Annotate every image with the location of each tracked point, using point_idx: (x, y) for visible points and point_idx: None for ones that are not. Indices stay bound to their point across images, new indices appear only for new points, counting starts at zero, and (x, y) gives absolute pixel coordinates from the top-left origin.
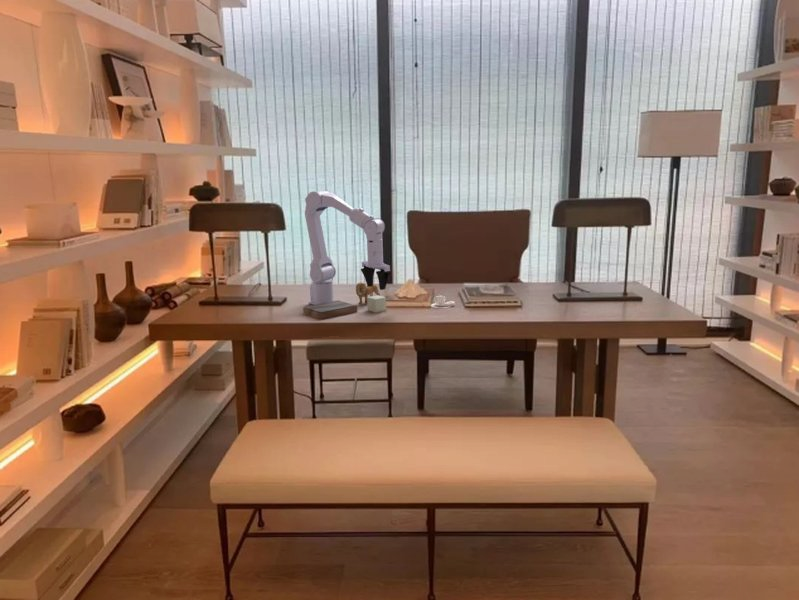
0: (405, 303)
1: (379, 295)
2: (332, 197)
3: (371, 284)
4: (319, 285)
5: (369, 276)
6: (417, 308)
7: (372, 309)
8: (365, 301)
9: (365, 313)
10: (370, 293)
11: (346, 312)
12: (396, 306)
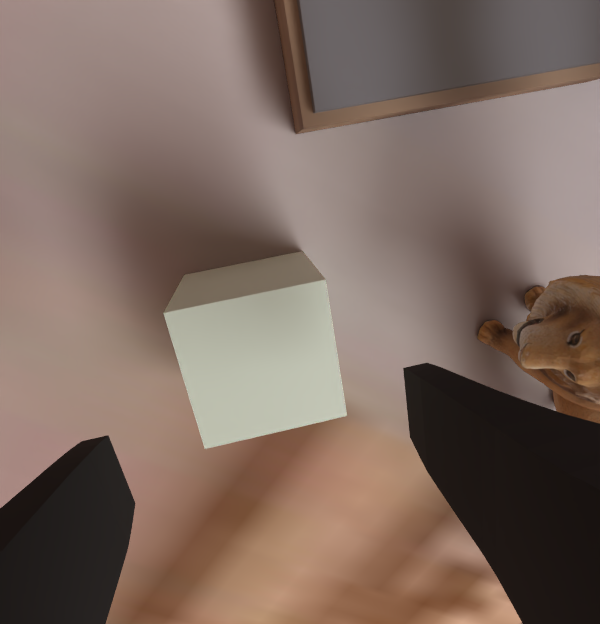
0: (314, 555)
1: None
2: None
3: (419, 436)
4: None
5: (511, 518)
6: (134, 572)
7: (230, 269)
8: (507, 335)
9: (193, 173)
10: None
11: None
12: (272, 481)
